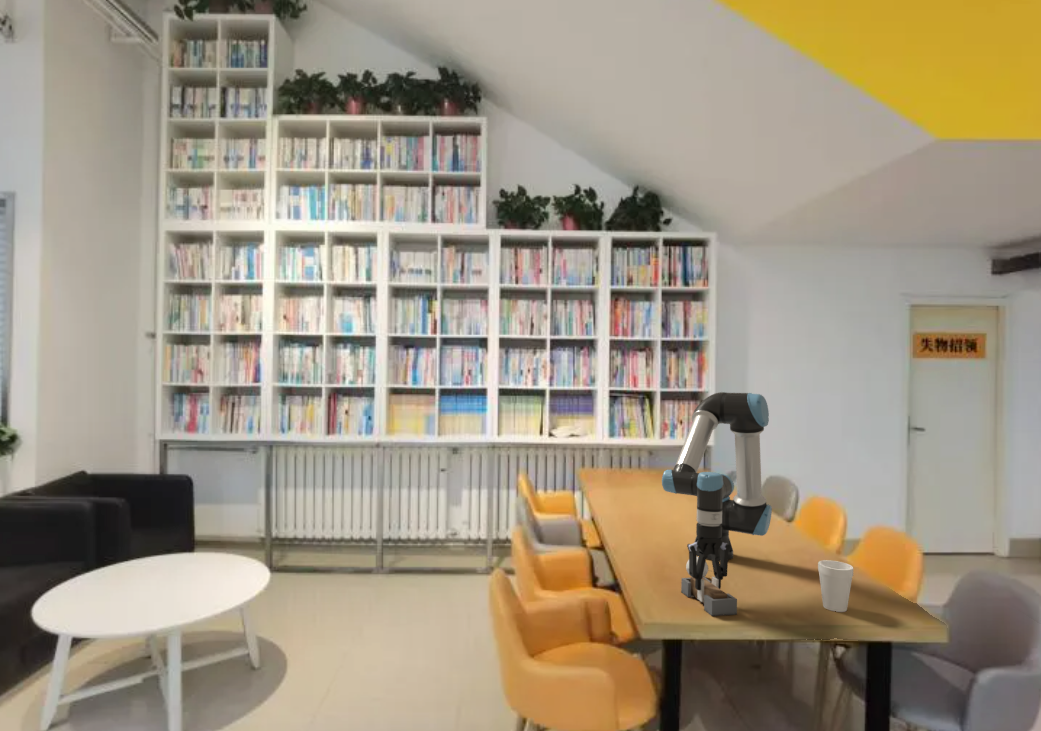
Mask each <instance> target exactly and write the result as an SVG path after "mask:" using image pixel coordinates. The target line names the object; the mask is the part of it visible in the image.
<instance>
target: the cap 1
mask: <svg viewBox="0 0 1041 731" xmlns="http://www.w3.org/2000/svg"><path fill="white" fill-rule="evenodd" d="M703 578H705V579H706V580H707V581H709V582H710V583H712V580H710V579H708V578H706V576H705V577H703ZM680 583H681V585H680V586H681V587H680V588H681V589H680V590H681V591H680V593H681V594H683V595H684V596H686V597H687V598H696V597H695V596H693V595H692V594H691V577H681V582H680Z"/></svg>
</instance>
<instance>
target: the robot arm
mask: <svg viewBox="0 0 1041 731" xmlns="http://www.w3.org/2000/svg"><path fill="white" fill-rule="evenodd" d="M769 412H770V410H769V406H768V402H767V400H766V398H765V396H764V395H763V394H760V393H752V392H725V391H724V392H723V391H721V392H716V393H714V394H711V395H709V396H707V397H706V398H705V399H703V400H702V401H701V402H700V403H699V404H698V405H697V406H696V407H695V409H694V411H693V413H692V415H691V421H692V423H691V425H690V428H689V430H688V433H687V435H686V438H685V440H684V443H683V445H682V448H681V450H680V453H679V455H678V458H677V460H676V462H675V465H674V468H673V469H666V470H664V471H663V474H662V477H661V485H662V489H663V490H664V491H665V492H667V493H672V494H676V495H677V494H678V495H684V496H685V495H686V496H694V497H696V521H697V523H696V527H695V528H696V529H695V530H696V532H695V534H696V537H695V539H694V542H693V543H688V544H687V546H686V547H687V550H688V560H689V574H688V575H689V576H690V577H691V576H692V577H693V578H695V588H696V589H697V598H696V599H697V600H698V601H699V602H701V603H702V602H704V580H703V579H702V576H703V571H704V566H705V562H706V563H707V560H709V561H710V560H711V563H712V572H713V571H714V572H713V575H714V576H711V583H712V584H713V585H715V586H716V587H718V588H719V589H720V590H721V587H722V581H723V580H724V577H725V578H726V577H728V566H729V560H731V559H733V558H734V548H733V546H732V543H731V540H730V534H729V533H730V532H735V533H742V534H747V535H751V536H761V537H762V536H765V535H766V534H767V533H768V530H769V527H770V525H771V519H772V514H773V513H772V512H773V510H772V509H773V508H772V506H771V504H768V503H767V498H766V497H765V496H764V495H763V494H762V468H761V467H762V463H761V436H760V434H761V433H763V432H764V429H765V427H767V426H768V425H769V420H770V419H769V418H770V416H769V414H770V413H769ZM720 424H726V425H729V428H730V429H729V430H730V431H731V433H733V434H734V448H735V449H734V451H735V470H736V471H735V472H736V474H735V476H736V494H735V495H734V496H733V498H732V499H731V497H730V496H731V495H732V494H733V492H734V490H735V483H734V481H733V479H732V478H731V477H730V476H729V475H727V474H725V473H720V472H713V471H702V472H701V471H700V472H698V470H699V468H700V465H701V463H702V460H703V457H704V454H705V452H706V450H707V447H708V444H709V441H710V438H711V437H712V433H713V430H715V429H717V427H718V426H719V425H720ZM696 555H697V556H696ZM698 556H699V557H698ZM697 557H698V561H697Z"/></svg>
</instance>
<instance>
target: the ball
mask: <svg viewBox="0 0 1041 731" xmlns="http://www.w3.org/2000/svg"><path fill="white" fill-rule="evenodd" d="M696 557H697V561H698V556H696ZM685 568H686V569H685V570H686V572H687V574H688V575H689V559H688V560H687V562H686V565H685ZM708 572H710V570H709V566H708V563H707V561H706V562H705V566H704V571H703V576H702V577H705V578H706V576H707V574H708ZM712 572H713V573H714V571H713V570H712ZM691 577H692V576H690V578H691Z"/></svg>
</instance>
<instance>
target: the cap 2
mask: <svg viewBox="0 0 1041 731" xmlns="http://www.w3.org/2000/svg"><path fill="white" fill-rule="evenodd" d="M726 594H727V598H724V599H713V598H711V597H710V596H708V595H704V603H703V610H704V611H705V612H706V613H707V614H708V615H710V616H711V617H718V616H719V617H721V616H733V615H735V616H736V615H737V616H738V599H737V598H736V597H735V596H733V595H732V594H730V593H726Z"/></svg>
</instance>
